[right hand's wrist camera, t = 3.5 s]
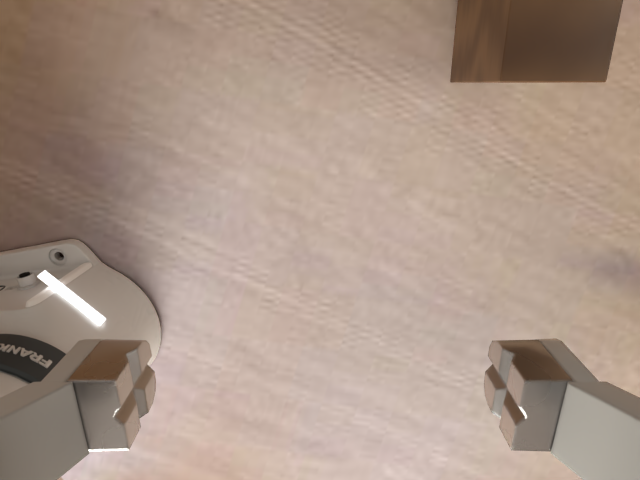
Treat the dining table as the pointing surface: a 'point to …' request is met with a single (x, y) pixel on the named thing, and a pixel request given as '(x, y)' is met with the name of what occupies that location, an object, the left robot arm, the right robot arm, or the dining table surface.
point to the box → (534, 40)
